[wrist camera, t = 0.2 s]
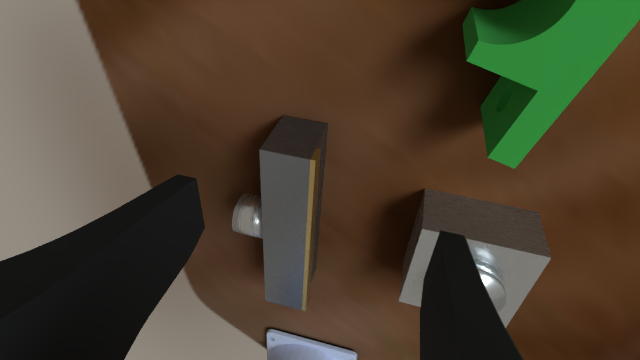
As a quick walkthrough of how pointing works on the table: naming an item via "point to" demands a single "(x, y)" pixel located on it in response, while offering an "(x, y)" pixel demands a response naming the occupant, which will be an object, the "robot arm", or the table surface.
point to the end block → (287, 208)
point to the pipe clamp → (539, 62)
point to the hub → (479, 247)
